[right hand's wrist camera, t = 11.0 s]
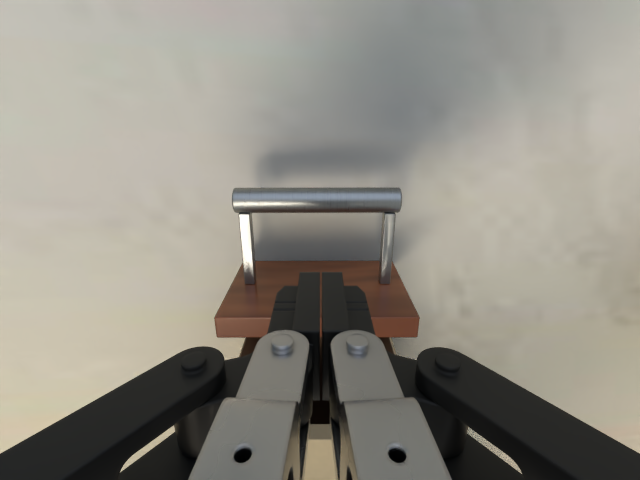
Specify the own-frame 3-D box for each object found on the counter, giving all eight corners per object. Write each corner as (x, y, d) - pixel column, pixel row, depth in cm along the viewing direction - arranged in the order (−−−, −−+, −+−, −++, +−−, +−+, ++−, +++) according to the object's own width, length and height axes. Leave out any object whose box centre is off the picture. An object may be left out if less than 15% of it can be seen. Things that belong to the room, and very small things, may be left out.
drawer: (236, 177, 21) (199, 205, 15) (398, 177, 21) (433, 205, 15) (257, 425, 28) (239, 517, 22) (379, 425, 28) (396, 517, 22)
